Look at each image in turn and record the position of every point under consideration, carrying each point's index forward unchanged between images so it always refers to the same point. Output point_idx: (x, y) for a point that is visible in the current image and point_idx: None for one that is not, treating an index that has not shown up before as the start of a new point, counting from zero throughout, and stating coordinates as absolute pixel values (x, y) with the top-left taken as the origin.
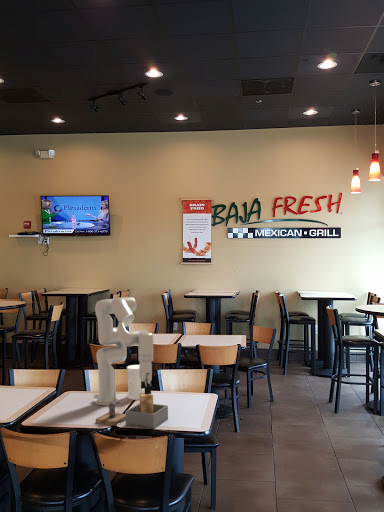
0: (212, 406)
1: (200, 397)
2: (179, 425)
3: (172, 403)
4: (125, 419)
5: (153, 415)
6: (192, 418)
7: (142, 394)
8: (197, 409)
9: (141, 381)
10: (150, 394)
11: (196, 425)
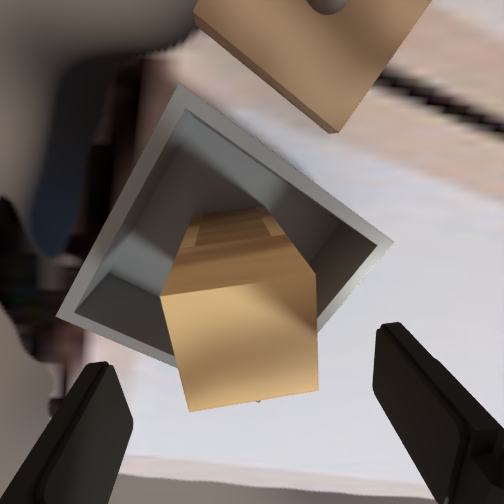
0: (361, 494)
1: None
2: (148, 384)
3: (475, 371)
4: (299, 107)
5: (60, 313)
6: (236, 432)
7: (242, 308)
8: (347, 451)
9: (471, 427)
10: (219, 389)
11: (139, 441)
